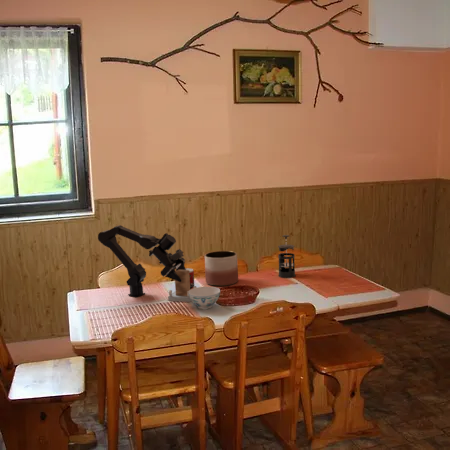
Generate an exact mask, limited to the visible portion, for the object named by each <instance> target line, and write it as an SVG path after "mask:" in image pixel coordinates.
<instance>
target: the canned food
mask: <svg viewBox="0 0 450 450" xmlns="http://www.w3.org/2000/svg"><path fill="white" fill-rule="evenodd" d="M185 268H186V267H185ZM186 270H189V277H190V290H191V289H193V288H194V286H195V272H194V269H193V268H188V267H187V268H186Z"/></svg>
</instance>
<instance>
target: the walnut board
mask: <svg viewBox="0 0 450 450" xmlns="http://www.w3.org/2000/svg"><path fill="white" fill-rule="evenodd" d="M175 272H176V273H177V275H178V276H179V277H180V279H181V280H182V281H181V282H179V281H176V280H174V285H175V286H174V288H175V289H174V290H175V291H176V295H179V296H187V291H189V290H190V277H189V270H177V271H176V270H175Z"/></svg>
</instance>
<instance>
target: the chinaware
mask: <svg viewBox="0 0 450 450" xmlns="http://www.w3.org/2000/svg"><path fill="white" fill-rule="evenodd" d="M188 293H189V297H190V299H191V302H192V303H193V305H195V306H197V308H198V309H200V310H208V309H211V308H212V307H213V305H215V303H216V302H217V301H218V300H219V297H220V295H221V289H220V288H219V287H217V286H198V287H197V286H196V288H193V289H191V290H189V292H188Z"/></svg>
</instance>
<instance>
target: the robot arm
mask: <svg viewBox="0 0 450 450" xmlns="http://www.w3.org/2000/svg"><path fill="white" fill-rule="evenodd" d="M118 235H119V236H120V237H123V238H126V239H129V240H131V241H134V242H136V243H137V244H138V245H140V247H142V248H143V249H145V250H148V252H149V254H148V255H149V257H152V256H154V257H155V258H156V259H157V261H159V262H158V263H159V264H160V265H163V266H164V267H163V269H161V271H160V275H161V276H162V278H169V279H172V280H174V281H175V280H176V281H179V282H181V281H182V280H181V279H180V277H179V276H178V275H177V273H176V272H175V271H177V270H186V265H185V263H186V259H185V258H184V251H183V250H181V249H180V248H178V249H176V250H175V253H172V252H169V253H168V251H169V250H170V249H172V247H173V246H174V245H175V244H176V243H177V240H176V238H175V237H174V236H173V235H171V234H168V232H166V233H164V234H163V235H162V237H161V238H158V237H156V236H155V235H151V234H142V233H139V232H137V231H134V230H133V229H130V228H127V227H125V226H123V225H121V224H119V225H116V226H114V227H113V228H111V229H106V230H103V231H101V232H98V235H97V240H98V242H100V243H101V244H102V245H103V246H105V247H106V248H108V249H110V251H111V252H112V253H113V254H114V255H115V256H116V258H117V259H118V260H119V261H120V263H121V264H122V265H123V266H124V267H125V269H126V270H127V274H128V277H129V278H128V279H127V280H126V285H127V286H129V293H128V294H127V296H128V295H129V296H128V297H133V298H134V297H135V298H139V297H141V296H144V295H145V294H146V292H144V287H143V283H142V282H144V281H145V278H146V277H147V271H146V268H144V266H143V265H142V264H141V263H138V264H137V263H135V262H134V261H133V259H132V258H131V257H130V256H129V255H128V253H126V251H125V250H124V249H123V248H122V246H121V245H120V244H119V243H118V241H117V237H116V236H118ZM152 248H153V249H152Z"/></svg>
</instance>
